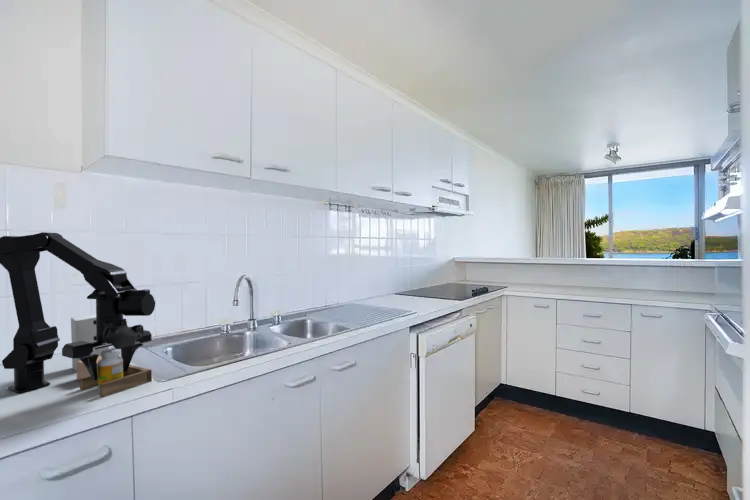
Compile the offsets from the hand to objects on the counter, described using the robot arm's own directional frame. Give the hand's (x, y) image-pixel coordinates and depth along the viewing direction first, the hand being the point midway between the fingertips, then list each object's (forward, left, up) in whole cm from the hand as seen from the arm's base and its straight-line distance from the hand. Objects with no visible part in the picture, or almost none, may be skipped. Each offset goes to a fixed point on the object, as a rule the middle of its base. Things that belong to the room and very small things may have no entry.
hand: (110, 375), depth 96 cm
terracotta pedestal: (-11, +2, -3) cm, 12 cm away
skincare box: (-23, +6, -3) cm, 24 cm away
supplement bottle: (0, 0, -3) cm, 3 cm away
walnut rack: (0, +1, -3) cm, 3 cm away
